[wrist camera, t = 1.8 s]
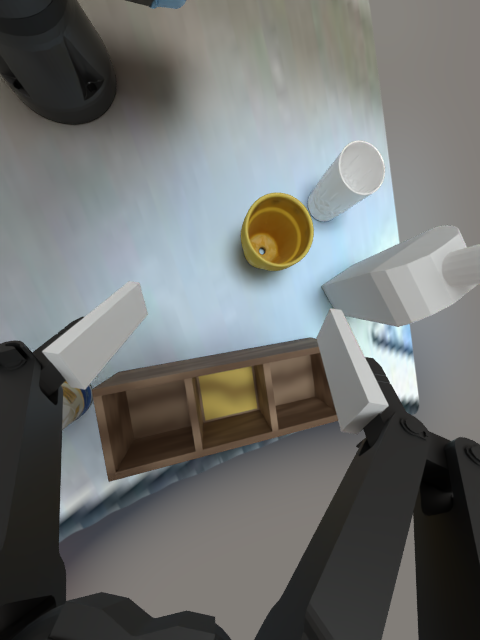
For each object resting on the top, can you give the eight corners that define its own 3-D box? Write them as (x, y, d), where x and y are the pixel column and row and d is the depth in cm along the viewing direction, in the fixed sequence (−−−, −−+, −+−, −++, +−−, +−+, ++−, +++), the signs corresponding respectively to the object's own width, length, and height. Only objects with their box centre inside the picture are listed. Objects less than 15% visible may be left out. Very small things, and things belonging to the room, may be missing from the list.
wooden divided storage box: (118, 371, 33) (91, 389, 25) (310, 337, 39) (336, 343, 31) (131, 444, 34) (109, 483, 26) (318, 399, 40) (346, 420, 32)
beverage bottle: (28, 378, 31) (-286, 491, 11) (86, 363, 32) (-101, 439, 12) (45, 428, 31) (-226, 620, 12) (101, 411, 33) (-55, 556, 13)
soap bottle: (335, 329, 40) (562, 355, 15) (311, 287, 39) (512, 235, 13) (379, 298, 42) (652, 271, 16) (357, 256, 40) (615, 157, 15)
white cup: (307, 226, 38) (343, 196, 29) (301, 185, 38) (335, 140, 28) (342, 223, 40) (388, 192, 30) (337, 183, 39) (381, 139, 29)
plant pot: (289, 277, 38) (317, 264, 28) (236, 281, 36) (248, 268, 27) (284, 223, 38) (311, 191, 28) (231, 224, 36) (240, 191, 26)
